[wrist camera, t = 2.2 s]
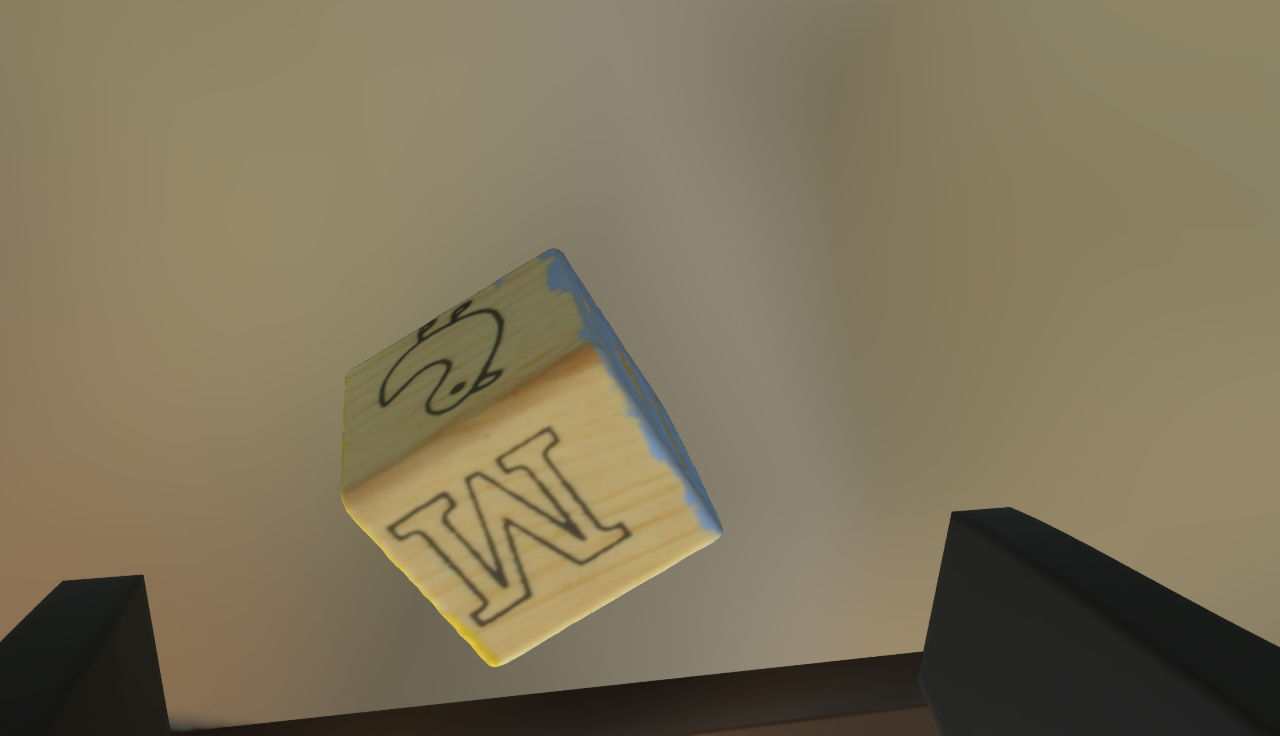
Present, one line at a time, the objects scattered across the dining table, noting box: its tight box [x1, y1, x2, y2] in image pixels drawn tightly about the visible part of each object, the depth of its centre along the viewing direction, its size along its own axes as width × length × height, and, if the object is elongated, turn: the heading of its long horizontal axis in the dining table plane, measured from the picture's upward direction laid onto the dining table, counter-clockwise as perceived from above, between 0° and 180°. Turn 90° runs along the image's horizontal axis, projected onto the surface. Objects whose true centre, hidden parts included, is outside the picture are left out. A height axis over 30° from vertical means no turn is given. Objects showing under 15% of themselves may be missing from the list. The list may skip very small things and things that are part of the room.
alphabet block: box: [340, 249, 723, 667], centre depth 13 cm, size 3×3×3 cm
